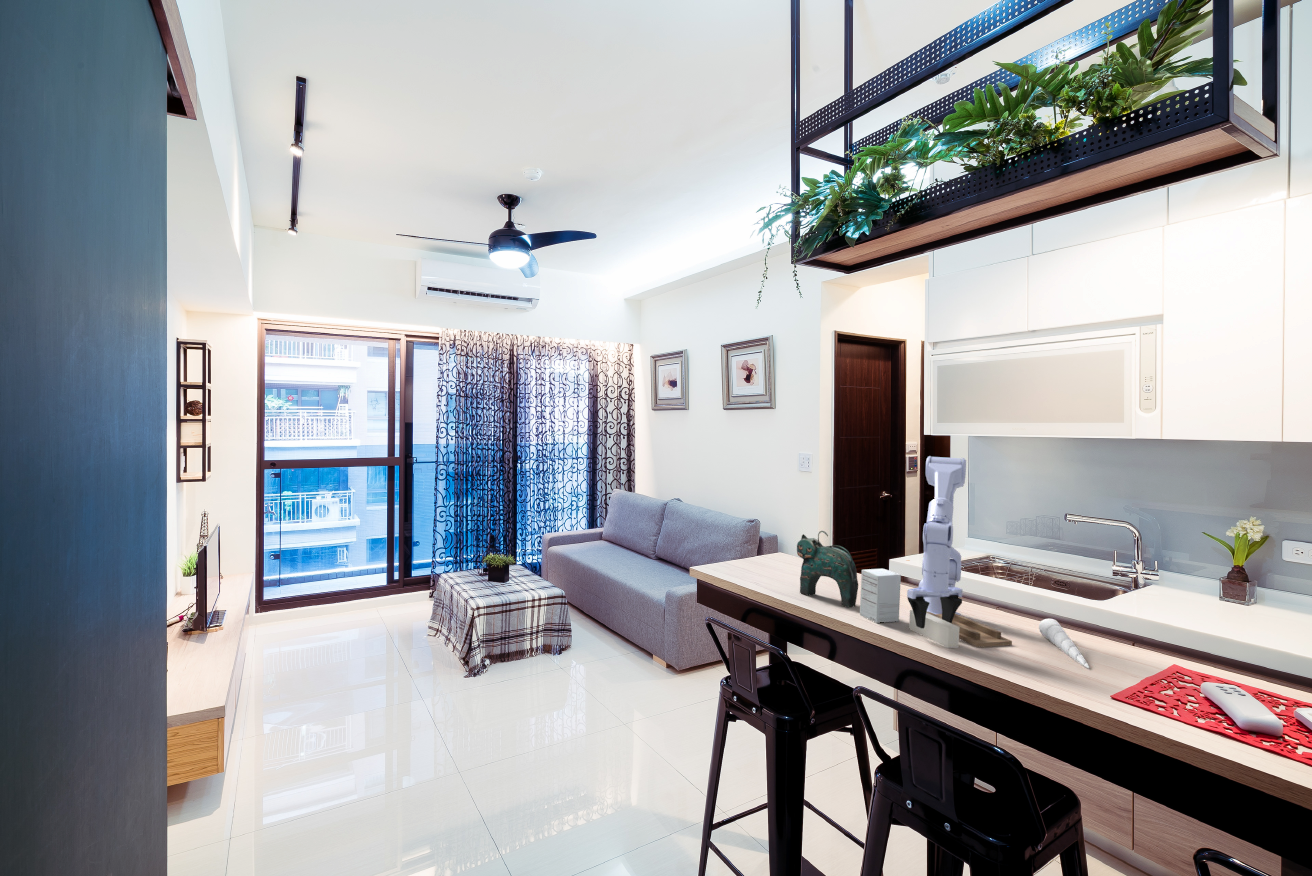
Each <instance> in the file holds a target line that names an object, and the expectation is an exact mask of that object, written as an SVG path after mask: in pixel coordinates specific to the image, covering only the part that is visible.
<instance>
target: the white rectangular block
mask: <svg viewBox="0 0 1312 876" xmlns="http://www.w3.org/2000/svg"><path fill="white" fill-rule="evenodd" d="M908 622H909V623H908V629H909V628H910V629H911V631H912V630H913V632H914V631H915V633H916V632H917V633H916V634H918V633H919V635H920V634H921V636H922V635H923V637H924V636H925V637H924V638H926V637H927V638H926V639H928V638H929V639H928V640H930V641H933V642H935V643H937V644H938V645H940V646H943V647H945V648H947V649H952V648H953V649H954V648H959V647H960V646H959V644H960V639H959V629H960V627H958V626H956V625H954V624H951V623H949V622H947V621H945V620H942V619H940V618H938V617H935V616H933V615H931V614H929V613H926V619H925V627H924V628H920V627H917V626H916V621H915V617H914V613H913V610H912V609H910V610H909V621H908ZM910 629H909V630H910Z"/></svg>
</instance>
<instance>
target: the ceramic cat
mask: <svg viewBox="0 0 1312 876" xmlns="http://www.w3.org/2000/svg"><path fill="white" fill-rule="evenodd" d="M821 533H824V534H825V536H827V537H828V536H829V535H828V533H827V532H826V531H825V530H820V531H819V532H818V534H817V538H815V537H811V538H810V537H807V536H806V535H805V534H802V535H801V538H800V540H799V541H798V542H797V544H796V553H797V556H798V557H799V558H801V559H802V562H801V563H802V564H801V570H800V578H799V583H800V584H799V586H800V587H799V594H800V593H801V595H804V596H813V594H814V595H816V592H817V591H816V587H817V583H818V581H819V580H820V578H821V577H827V578H830V579H832V580H834V581H835V583H836V584H837V586H838V588H839V589H838V590H839V594H840V599H841V606H842V605H843V606H842V607H845V606H846V608H853V606H854V607H855V606H856V604H857V599H858V598H857V597H858V590H859V580H858V572H857V567H856V564H855V562H854V560H853V557H852V554H850V552H849V550H848V549H846V548H845V547H843V546H841V545H837V544H832V545H825V546H824V545H823V544H822V543H821V541H820V534H821Z"/></svg>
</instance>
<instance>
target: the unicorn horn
mask: <svg viewBox="0 0 1312 876" xmlns="http://www.w3.org/2000/svg"><path fill="white" fill-rule="evenodd" d="M1038 630H1039V632H1040V634H1041V635H1042V636H1043V637H1044V636H1045V638H1046V639H1047V640H1048V639H1049V640H1050V641H1049V640H1048V641H1049V642H1051V644H1053V645H1054V644H1055V645H1054V646H1055V647H1057V648H1058V649H1059V648H1060V649H1059V650H1060V651H1062V652H1063V653H1064V654H1066V655H1067V656H1069V657H1070V658H1071V659H1072V660H1074V661H1076V662H1077V663H1078V664H1080V665H1081V666H1083V667H1084V668H1086V669H1090V666H1089V664H1088V662H1087V660H1086V659H1085V658H1084V656H1083V655H1082V653H1081V651H1080V650H1079V649H1078V647H1077V646H1076V644H1075V643H1074V642H1073V641H1072V639H1071V638H1070V636H1069V635H1068V634H1067V632H1066V631H1065V630H1064V628H1063V627H1062V625H1061V624H1060V623H1059V622H1058V620H1056V619H1053V618H1044V619H1042V620H1040V622H1039V624H1038Z"/></svg>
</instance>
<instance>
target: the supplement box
mask: <svg viewBox="0 0 1312 876" xmlns="http://www.w3.org/2000/svg"><path fill="white" fill-rule="evenodd" d="M860 577H861V578H860V580H861V581H860V602H859V603H860V604H859V616H861V617H862V616H863V617H862V618H864V619H867V618H868V619H867V620H869V619H870V620H869V621H871V620H872V621H871V622H873V621H874V622H873V623H875V622H876V624H880V622H884V623H892V622H895V621H896V622H899V621H900V607H901V605H900V604H901V599H900V598H901V583H902V582H901V579H902V578H901V577H902V575H901V574H899V573H898V572H895V571H892V570H889V569H885V568H871V569H870V568H869V569H861V576H860Z"/></svg>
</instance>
